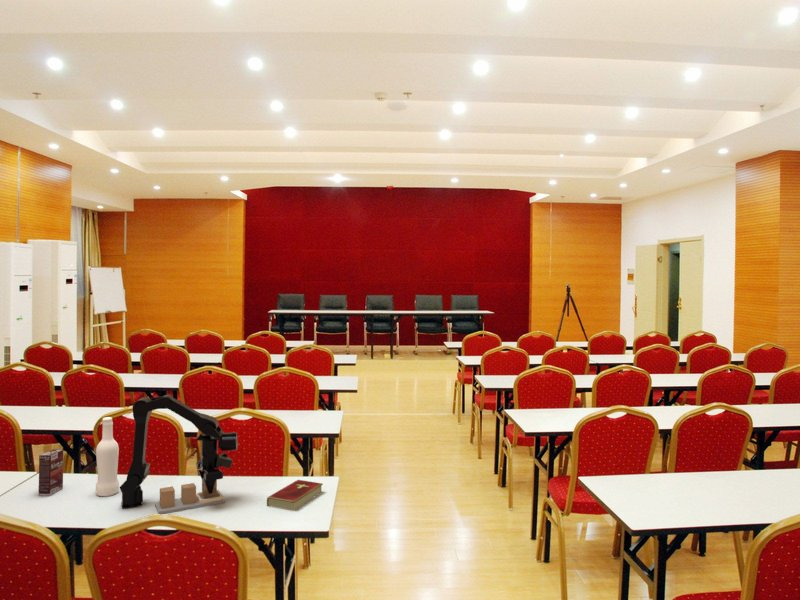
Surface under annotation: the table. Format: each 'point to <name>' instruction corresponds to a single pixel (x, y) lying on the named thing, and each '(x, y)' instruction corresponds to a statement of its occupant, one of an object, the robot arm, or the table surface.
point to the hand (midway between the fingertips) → (209, 491)
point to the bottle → (107, 461)
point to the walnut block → (205, 491)
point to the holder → (184, 499)
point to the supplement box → (50, 472)
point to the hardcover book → (294, 495)
